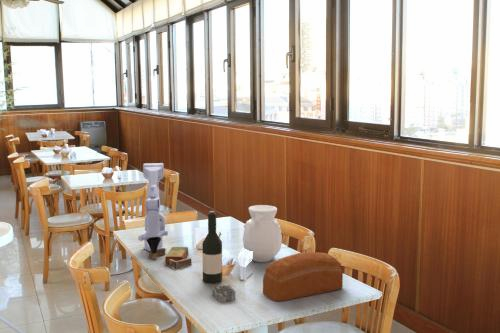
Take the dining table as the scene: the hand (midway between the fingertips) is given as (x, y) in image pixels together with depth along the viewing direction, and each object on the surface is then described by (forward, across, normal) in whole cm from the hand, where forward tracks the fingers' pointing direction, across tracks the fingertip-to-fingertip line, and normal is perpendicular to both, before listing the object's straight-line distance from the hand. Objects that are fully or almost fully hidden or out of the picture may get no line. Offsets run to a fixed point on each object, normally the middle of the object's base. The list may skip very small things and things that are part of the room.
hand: (153, 253), depth 264 cm
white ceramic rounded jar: (+6, +43, -27) cm, 51 cm away
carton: (+6, +13, 0) cm, 14 cm away
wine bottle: (+6, +7, -34) cm, 35 cm away
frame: (+6, +9, 0) cm, 10 cm away
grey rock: (+6, -1, -51) cm, 51 cm away
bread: (+6, +27, -67) cm, 73 cm away
